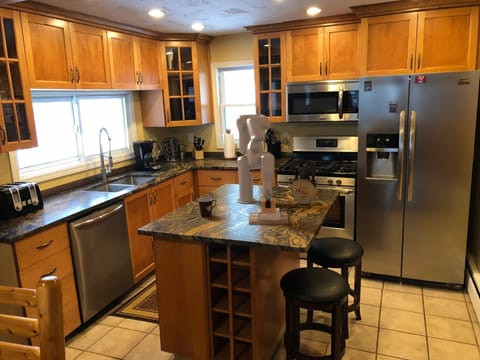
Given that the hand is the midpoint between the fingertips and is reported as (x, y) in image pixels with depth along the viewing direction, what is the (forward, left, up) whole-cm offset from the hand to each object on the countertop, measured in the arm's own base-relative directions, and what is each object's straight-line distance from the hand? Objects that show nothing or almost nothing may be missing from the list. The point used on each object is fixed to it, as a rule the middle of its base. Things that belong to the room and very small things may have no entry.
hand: (267, 205), depth 223 cm
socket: (0, 0, -6) cm, 6 cm away
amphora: (-30, +24, -9) cm, 39 cm away
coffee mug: (-10, -36, -9) cm, 38 cm away
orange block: (+1, 0, -5) cm, 5 cm away
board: (0, 0, -8) cm, 8 cm away
